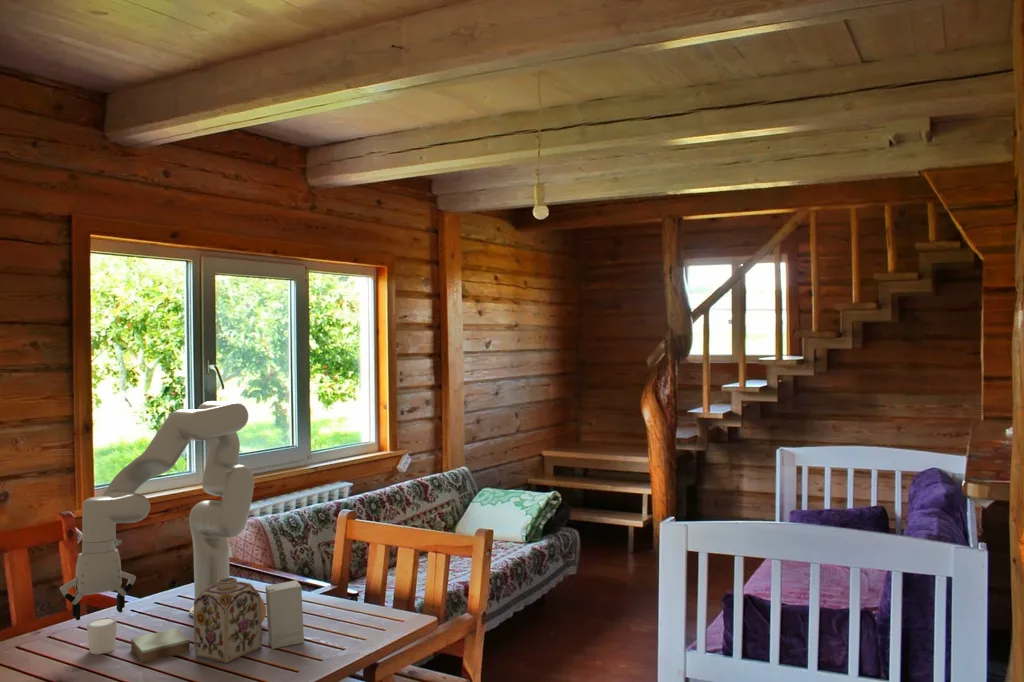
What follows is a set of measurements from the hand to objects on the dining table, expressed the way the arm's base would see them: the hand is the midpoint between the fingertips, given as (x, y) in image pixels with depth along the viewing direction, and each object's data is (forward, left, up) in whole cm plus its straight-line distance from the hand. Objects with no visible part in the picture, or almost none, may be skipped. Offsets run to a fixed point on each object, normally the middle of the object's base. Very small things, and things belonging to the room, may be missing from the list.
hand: (98, 615), depth 206 cm
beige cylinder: (-1, 0, -9) cm, 9 cm away
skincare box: (-38, +27, -9) cm, 47 cm away
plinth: (-12, +11, -9) cm, 18 cm away
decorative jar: (-25, +23, -9) cm, 35 cm away
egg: (-36, +10, -9) cm, 38 cm away
